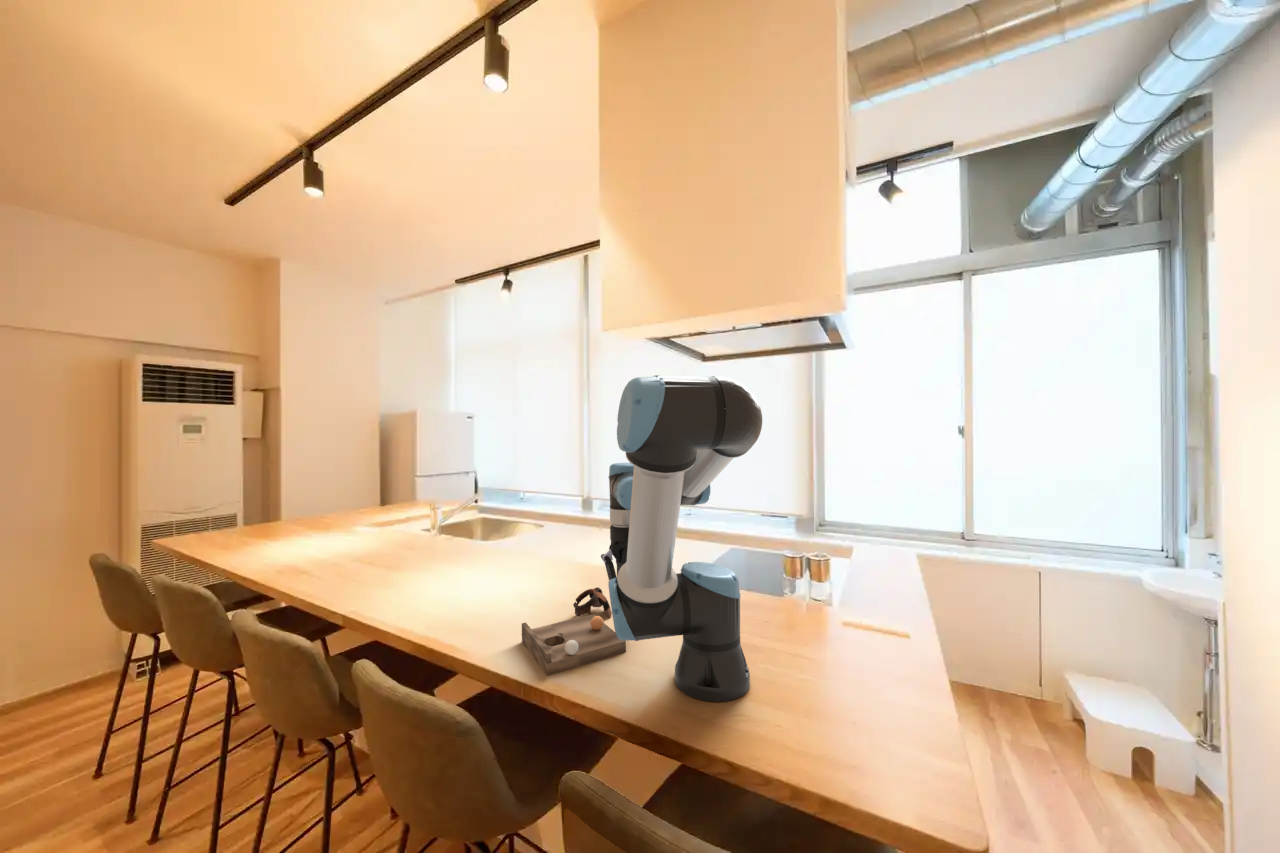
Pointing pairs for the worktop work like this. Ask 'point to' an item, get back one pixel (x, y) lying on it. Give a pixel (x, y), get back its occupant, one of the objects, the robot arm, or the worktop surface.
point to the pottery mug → (592, 602)
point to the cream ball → (571, 647)
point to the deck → (552, 639)
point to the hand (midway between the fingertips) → (626, 616)
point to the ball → (597, 622)
